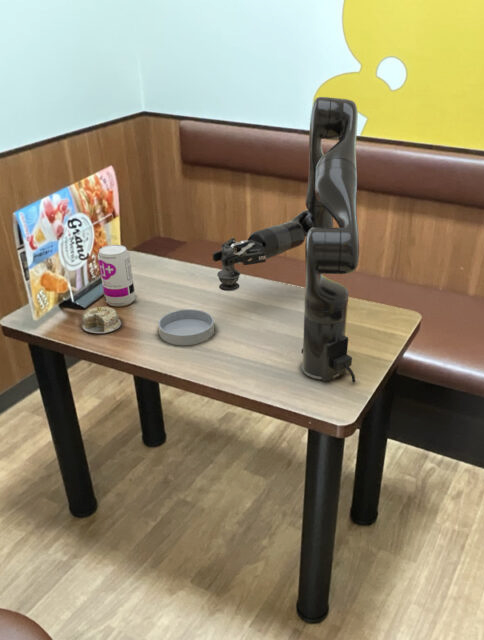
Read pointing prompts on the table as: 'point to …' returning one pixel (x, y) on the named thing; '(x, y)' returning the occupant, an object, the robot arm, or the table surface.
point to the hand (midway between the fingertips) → (219, 259)
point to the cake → (100, 320)
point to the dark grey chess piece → (228, 272)
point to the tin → (186, 327)
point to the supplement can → (116, 275)
